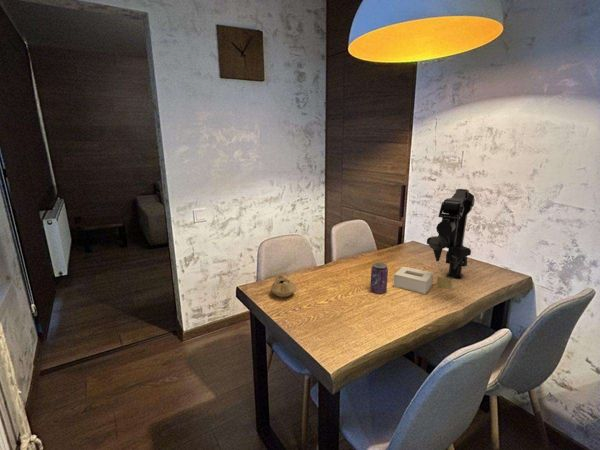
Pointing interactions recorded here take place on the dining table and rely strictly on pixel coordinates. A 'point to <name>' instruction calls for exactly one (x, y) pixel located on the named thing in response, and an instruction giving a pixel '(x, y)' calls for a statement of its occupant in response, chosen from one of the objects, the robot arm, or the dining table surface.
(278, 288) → the oil lamp
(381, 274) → the beverage can
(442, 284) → the two-tone wooden block
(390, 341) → the dining table surface
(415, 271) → the moneybox
